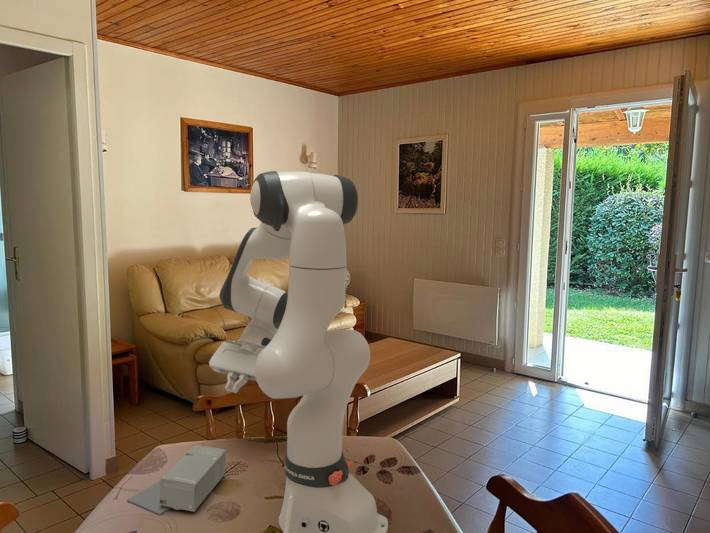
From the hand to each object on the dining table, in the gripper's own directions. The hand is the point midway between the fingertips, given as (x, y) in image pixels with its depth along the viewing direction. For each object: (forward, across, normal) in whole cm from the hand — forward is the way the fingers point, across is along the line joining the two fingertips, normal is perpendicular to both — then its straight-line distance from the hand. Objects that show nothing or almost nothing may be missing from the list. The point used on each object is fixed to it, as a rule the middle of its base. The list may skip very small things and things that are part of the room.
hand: (230, 391), depth 132 cm
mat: (+26, 0, -2) cm, 26 cm away
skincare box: (+16, +2, +3) cm, 17 cm away
